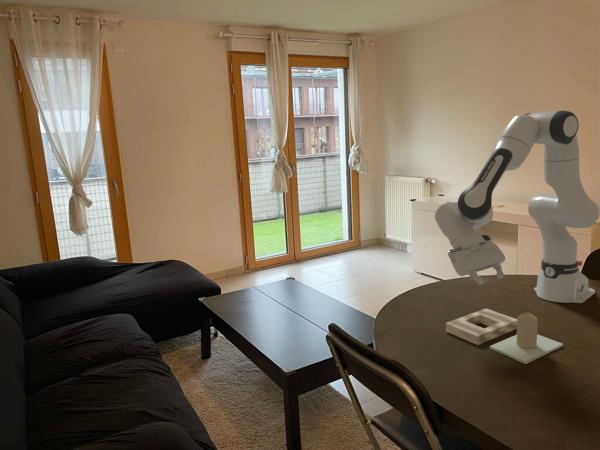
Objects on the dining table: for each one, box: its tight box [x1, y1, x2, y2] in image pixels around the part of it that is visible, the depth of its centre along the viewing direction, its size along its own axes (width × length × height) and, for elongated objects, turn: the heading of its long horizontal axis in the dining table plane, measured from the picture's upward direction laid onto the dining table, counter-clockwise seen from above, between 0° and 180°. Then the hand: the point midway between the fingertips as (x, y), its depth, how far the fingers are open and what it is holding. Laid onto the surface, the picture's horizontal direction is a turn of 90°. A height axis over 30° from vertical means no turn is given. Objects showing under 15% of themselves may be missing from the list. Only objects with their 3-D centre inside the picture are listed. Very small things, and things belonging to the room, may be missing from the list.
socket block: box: [445, 308, 517, 346], centre depth 155 cm, size 20×13×3 cm, turn 120°
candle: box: [516, 311, 539, 349], centre depth 140 cm, size 6×6×10 cm
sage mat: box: [489, 333, 564, 365], centre depth 141 cm, size 18×12×1 cm, turn 120°
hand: (492, 280), depth 148 cm, fingers open, 8 cm apart
